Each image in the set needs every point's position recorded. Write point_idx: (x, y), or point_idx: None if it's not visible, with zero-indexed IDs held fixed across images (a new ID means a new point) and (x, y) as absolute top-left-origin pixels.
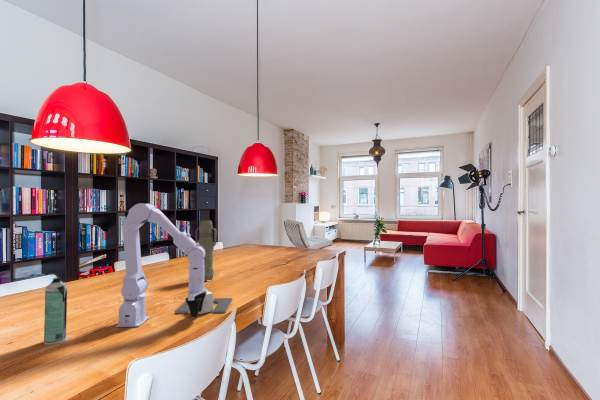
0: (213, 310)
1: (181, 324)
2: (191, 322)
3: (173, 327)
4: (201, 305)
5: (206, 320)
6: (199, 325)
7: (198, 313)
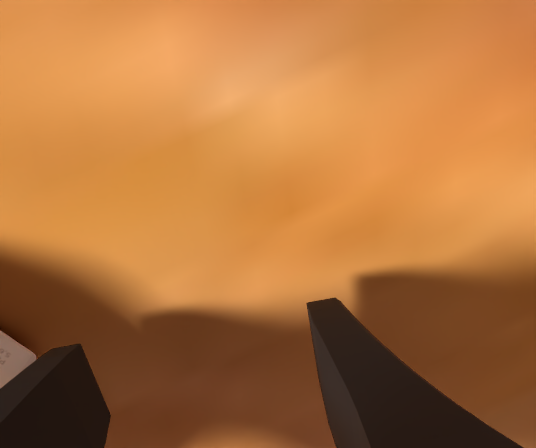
0: None
1: None
2: (353, 311)
3: (516, 420)
4: (6, 434)
5: (248, 132)
6: (469, 149)
7: None
